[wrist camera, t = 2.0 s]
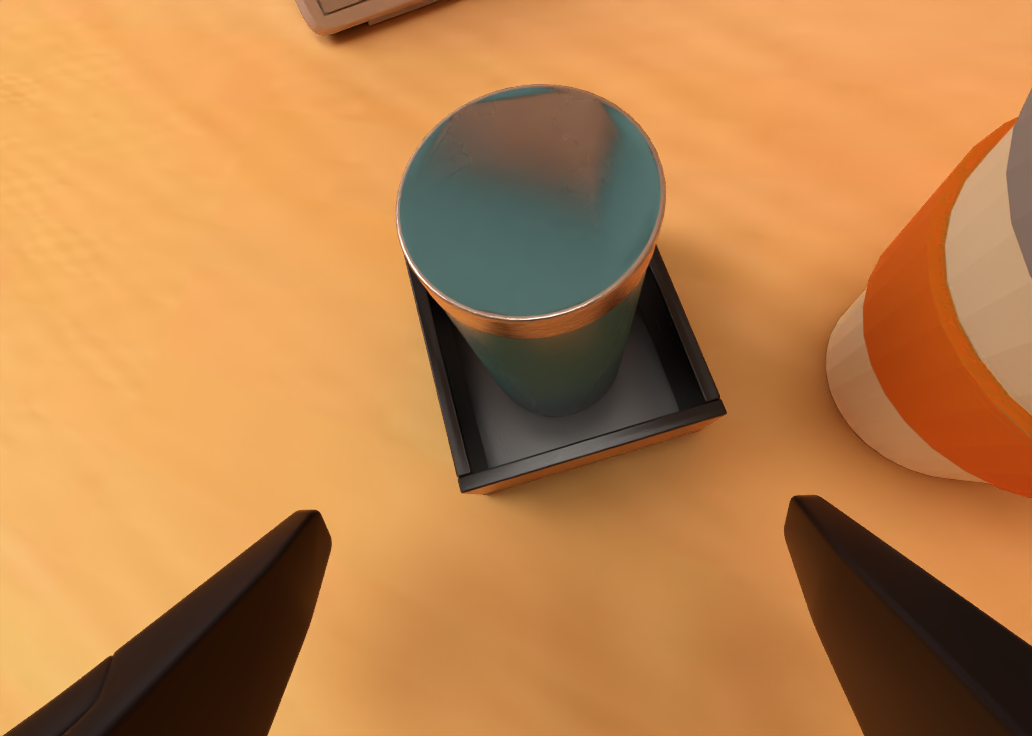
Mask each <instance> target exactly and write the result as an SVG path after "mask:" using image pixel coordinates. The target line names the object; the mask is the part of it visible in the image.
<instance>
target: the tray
mask: <svg viewBox="0 0 1032 736" xmlns="http://www.w3.org/2000/svg"><path fill="white" fill-rule="evenodd" d="M404 257H405V255H404ZM405 260H406V265H407V269H408V274H409V278H410V282H411V286H412V290H413V294H414V299H415V303H416V307H417V311H418V315H419V320H420V324H421V328H422V332H423V336H424V340H425V345H426V349H427V353H428V357H429V361H430V365H431V370H432V374H433V378H434V382H435V386H436V390H437V395H438V399H439V403H440V407H441V411H442V416H443V420H444V424H445V428H446V432H447V436H448V441H449V445H450V449H451V453H452V457H453V461H454V466H455V470H456V474H457V477H459V478H458V482H459V487H460V491H461V493H467V494H483V495H486V494H490V493H493V492H496V491H500V490H503V489H506V488H510V487H513V486H516V485H520V484H523V483H526V482H530V481H533V480H536V479H540V478H543V477H547V476H550V475H553V474H557V473H560V472H563V471H567V470H570V469H573V468H577V467H580V466H583V465H587V464H590V463H593V462H597V461H600V460H603V459H607V458H610V457H613V456H617V455H620V454H623V453H627V452H630V451H634V450H637V449H640V448H644V447H647V446H650V445H654V444H657V443H660V442H664V441H667V440H670V439H674V438H677V437H680V436H684V435H687V434H690V433H694V432H697V431H699V430H701V429H703V428H704V427H706V426H708V425H709V424H711V423H712V422H714V421H716V420H717V419H719V418H721V417H722V416H724V415H726V414H727V412H726V409H725V407H724V404H723V402H722V400H721V399H720V395H719V393H718V390H717V388H716V385H715V383H714V381H713V378H712V376H711V373H710V371H709V369H708V366H707V364H706V362H705V359H704V357H703V354H702V352H701V350H700V347H699V345H698V343H697V340H696V338H695V335H694V333H693V331H692V328H691V326H690V324H689V321H688V319H687V316H686V314H685V312H684V309H683V307H682V305H681V302H680V300H679V297H678V295H677V293H676V290H675V288H674V286H673V283H672V281H671V278H670V276H669V274H668V271H667V269H666V267H665V264H664V262H663V259H662V257H661V255H660V252H659V250H658V248H657V245H655V249H654V252H653V255H652V258H651V260H650V262H649V264H648V267H647V270H646V273H645V277H644V281H643V284H642V288H641V292H640V295H639V299H638V302H637V306H636V310H635V313H634V317H633V321H632V324H631V328H630V331H629V335H628V339H627V342H626V346H625V349H624V353H623V357H622V360H621V364H620V368H619V371H618V374H617V377H616V379H615V381H614V383H613V384H612V386H611V388H610V389H609V390H608V392H607V393H606V394H605V395H604V396H603V397H602V398H601V399H600V400H599V401H598V402H596V403H595V404H594V405H592V406H591V407H589V408H587V409H585V410H583V411H580V412H578V413H575V414H571V415H567V416H544V415H539V414H535V413H532V412H530V411H528V410H525V409H523V408H522V407H520V406H518V405H517V404H516V403H514V402H513V401H512V400H511V399H510V398H509V397H508V396H507V395H506V394H505V393H504V392H503V390H502V389H501V388H500V386H499V385H498V383H497V382H496V381H495V379H494V378H493V377H492V375H491V374H490V372H489V371H488V370H487V368H486V367H485V366H484V364H483V363H482V361H481V360H480V359H479V357H478V356H477V355H476V353H475V352H474V350H473V349H472V348H471V346H470V345H469V343H468V342H467V341H466V339H465V338H464V337H463V335H462V334H461V332H460V331H459V330H458V328H457V327H456V326H455V324H454V323H453V321H452V320H451V319H450V317H449V316H448V315H447V313H446V312H445V310H444V309H443V308H442V307H441V306H440V305H439V304H438V303H437V302H436V301H435V299H434V298H433V297H432V296H431V295H430V293H429V292H428V291H427V289H426V288H425V287H424V285H423V284H422V282H421V281H420V280H419V278H418V277H417V275H416V274H415V273H414V271H413V270H412V268H411V267H410V265H409V263H408V261H407V259H406V257H405Z"/></svg>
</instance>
